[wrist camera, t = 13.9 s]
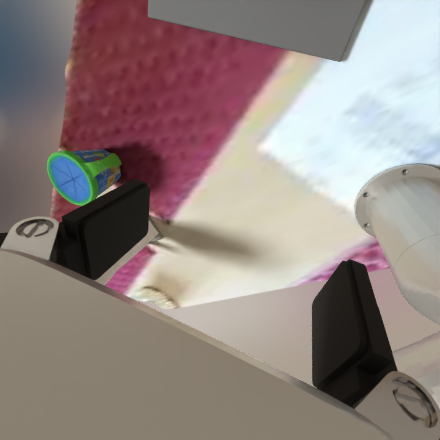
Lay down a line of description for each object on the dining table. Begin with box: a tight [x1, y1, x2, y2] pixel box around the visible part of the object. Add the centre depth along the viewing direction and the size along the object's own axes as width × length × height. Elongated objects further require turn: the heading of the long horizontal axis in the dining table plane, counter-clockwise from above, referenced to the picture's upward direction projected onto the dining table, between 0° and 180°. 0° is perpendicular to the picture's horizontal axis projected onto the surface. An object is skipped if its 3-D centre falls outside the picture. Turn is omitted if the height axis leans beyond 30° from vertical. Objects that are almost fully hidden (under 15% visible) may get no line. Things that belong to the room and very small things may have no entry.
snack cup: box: [47, 149, 121, 205], centre depth 46 cm, size 16×10×10 cm
